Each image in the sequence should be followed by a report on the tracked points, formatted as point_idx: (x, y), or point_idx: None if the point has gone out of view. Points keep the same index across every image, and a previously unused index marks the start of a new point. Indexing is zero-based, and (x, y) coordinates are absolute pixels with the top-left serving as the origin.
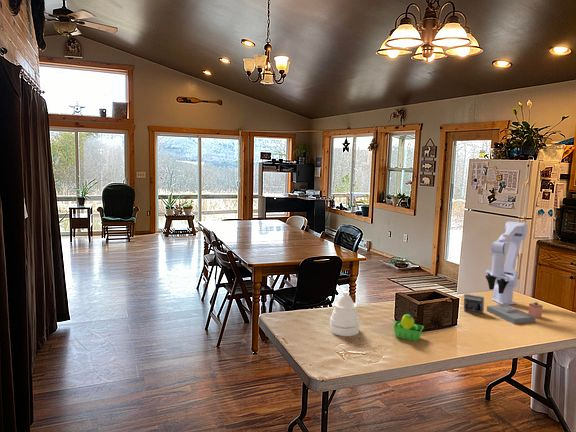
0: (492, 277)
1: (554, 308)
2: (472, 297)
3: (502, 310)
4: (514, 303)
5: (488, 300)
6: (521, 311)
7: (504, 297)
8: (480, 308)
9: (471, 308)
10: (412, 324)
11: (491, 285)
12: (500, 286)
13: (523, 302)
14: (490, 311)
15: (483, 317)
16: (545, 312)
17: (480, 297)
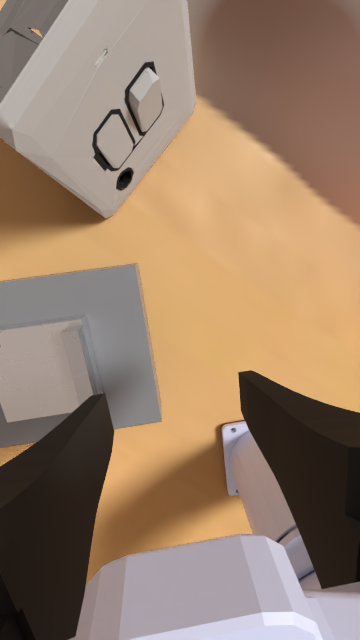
0: (334, 536)
1: None
2: (65, 2)
3: (31, 322)
4: (227, 485)
5: (314, 386)
6: (19, 434)
7: (252, 464)
8: (114, 195)
9: (157, 144)
10: None
11: (259, 413)
12: (20, 454)
13: (246, 532)
14: (100, 268)
15: (5, 152)
16: (98, 551)
17: (20, 99)
